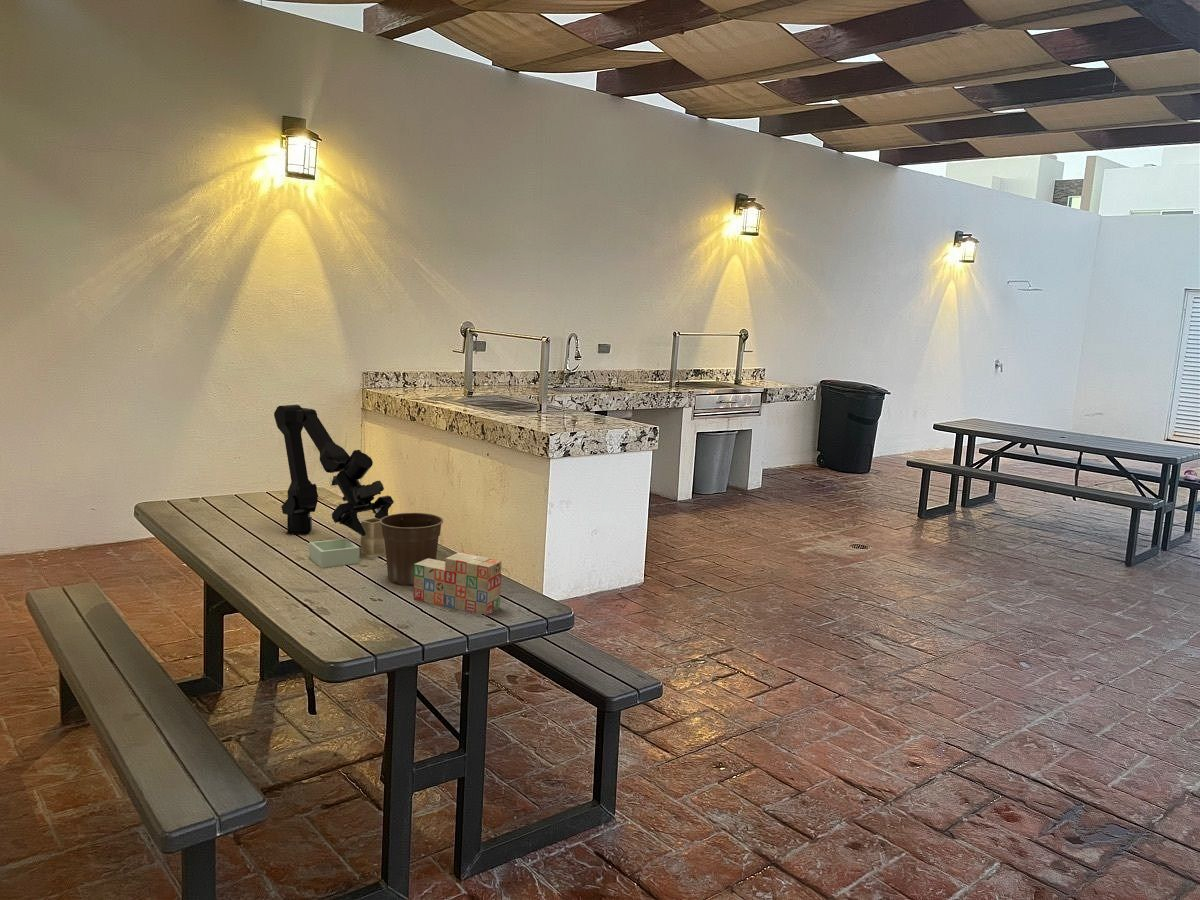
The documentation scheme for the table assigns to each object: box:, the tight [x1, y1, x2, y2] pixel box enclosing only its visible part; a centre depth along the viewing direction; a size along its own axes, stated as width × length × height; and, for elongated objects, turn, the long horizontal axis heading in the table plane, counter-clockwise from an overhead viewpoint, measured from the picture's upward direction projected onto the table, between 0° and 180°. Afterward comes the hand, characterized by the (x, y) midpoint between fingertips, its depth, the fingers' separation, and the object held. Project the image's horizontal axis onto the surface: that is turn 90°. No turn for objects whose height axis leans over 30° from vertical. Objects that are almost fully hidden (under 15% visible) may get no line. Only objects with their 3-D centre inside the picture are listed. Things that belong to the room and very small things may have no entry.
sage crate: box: [308, 538, 360, 569], centre depth 255 cm, size 11×11×4 cm
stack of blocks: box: [413, 552, 503, 616], centre depth 224 cm, size 21×6×12 cm, turn 65°
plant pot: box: [380, 512, 444, 586], centre depth 241 cm, size 16×16×16 cm
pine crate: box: [360, 517, 386, 559], centre depth 262 cm, size 5×5×10 cm
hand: (377, 532), depth 261 cm, fingers open, 9 cm apart
